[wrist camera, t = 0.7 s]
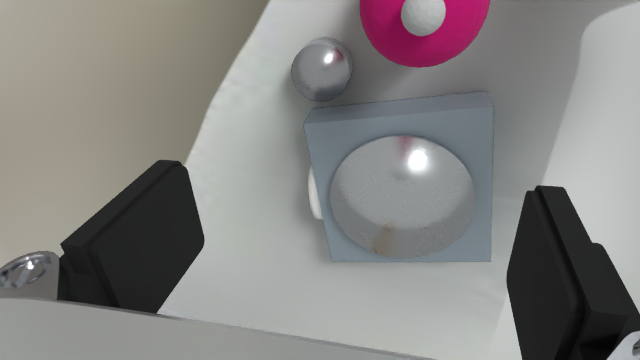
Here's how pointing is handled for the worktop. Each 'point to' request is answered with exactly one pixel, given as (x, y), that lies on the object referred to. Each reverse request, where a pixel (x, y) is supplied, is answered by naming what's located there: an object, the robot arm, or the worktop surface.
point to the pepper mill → (422, 28)
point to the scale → (414, 119)
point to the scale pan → (403, 196)
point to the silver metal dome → (322, 69)
